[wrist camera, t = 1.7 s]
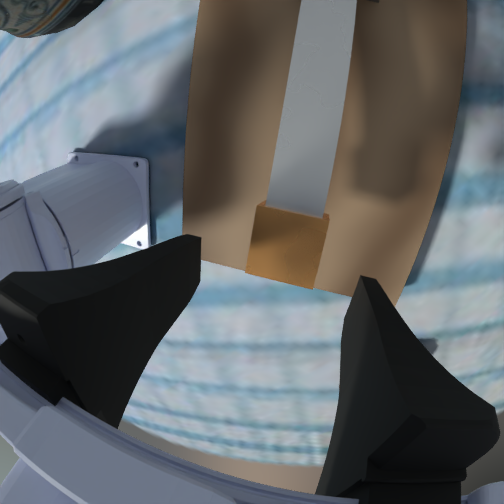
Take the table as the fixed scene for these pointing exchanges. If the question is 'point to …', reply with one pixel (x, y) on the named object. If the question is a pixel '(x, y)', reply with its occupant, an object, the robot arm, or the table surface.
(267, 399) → the table surface
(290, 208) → the press lever
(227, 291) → the table surface
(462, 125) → the table surface
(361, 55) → the base
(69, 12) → the beer stein
